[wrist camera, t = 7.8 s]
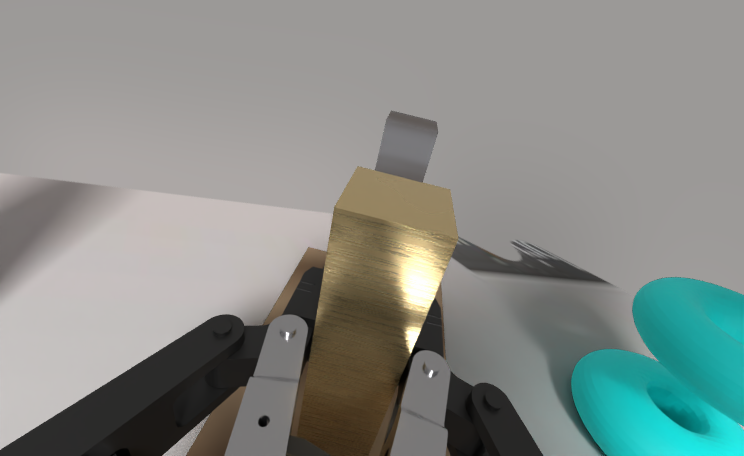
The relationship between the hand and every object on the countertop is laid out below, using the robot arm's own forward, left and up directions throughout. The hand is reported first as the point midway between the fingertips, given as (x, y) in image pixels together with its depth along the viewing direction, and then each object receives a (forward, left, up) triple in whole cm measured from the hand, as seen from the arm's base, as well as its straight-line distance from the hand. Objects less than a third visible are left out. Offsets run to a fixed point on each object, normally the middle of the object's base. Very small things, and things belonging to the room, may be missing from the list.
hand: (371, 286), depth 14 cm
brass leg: (+1, +3, -7) cm, 8 cm away
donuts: (-20, +4, -9) cm, 22 cm away
